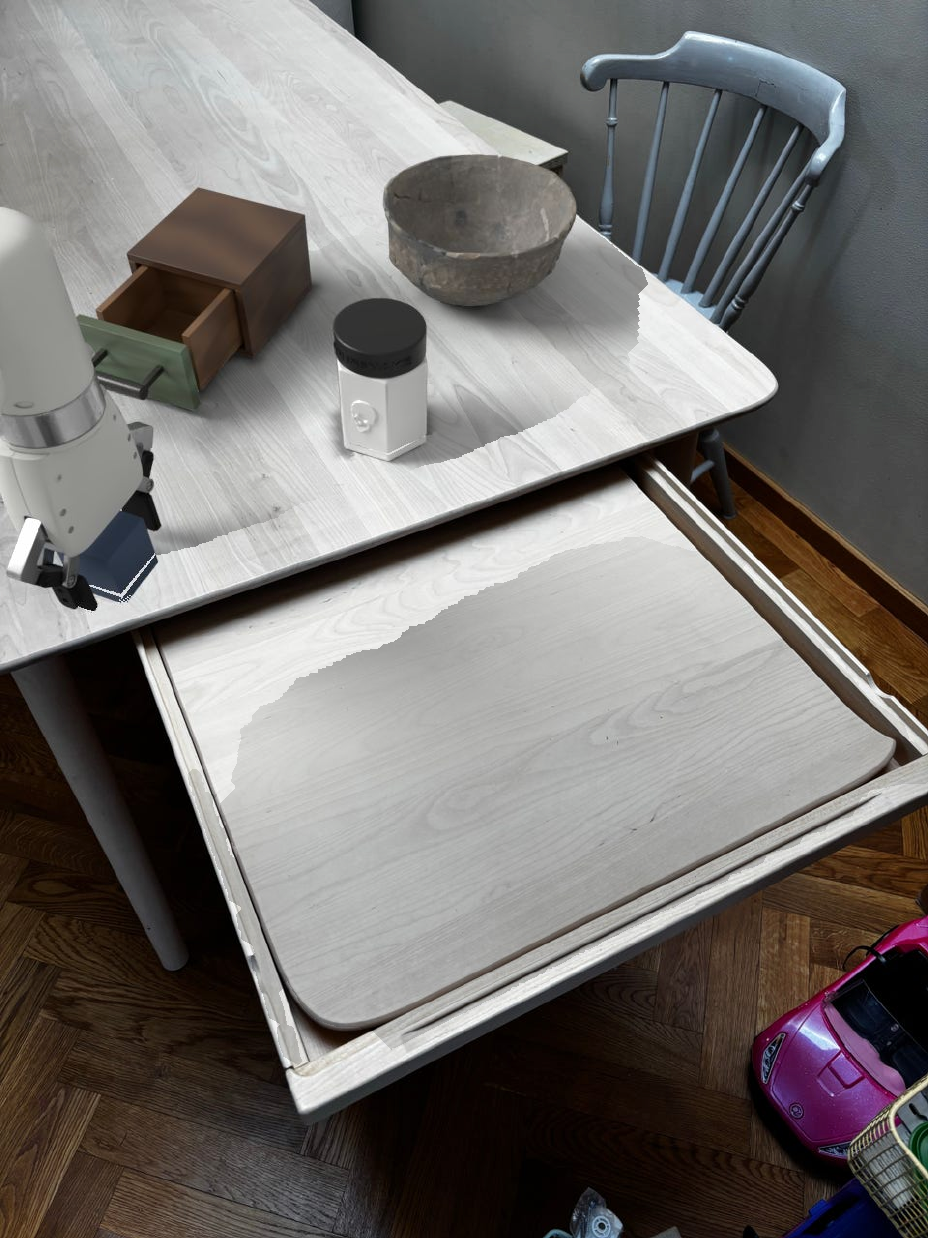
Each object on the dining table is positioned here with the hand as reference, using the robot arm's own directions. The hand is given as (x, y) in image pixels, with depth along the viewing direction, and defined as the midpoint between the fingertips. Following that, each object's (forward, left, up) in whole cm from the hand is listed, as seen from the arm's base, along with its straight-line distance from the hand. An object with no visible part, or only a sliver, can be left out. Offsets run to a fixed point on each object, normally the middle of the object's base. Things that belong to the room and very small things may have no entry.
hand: (113, 563), depth 75 cm
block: (0, 0, -1) cm, 1 cm away
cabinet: (+15, +34, -1) cm, 38 cm away
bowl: (+42, +32, -2) cm, 53 cm away
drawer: (+7, +24, 0) cm, 25 cm away
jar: (+26, +11, -2) cm, 28 cm away
